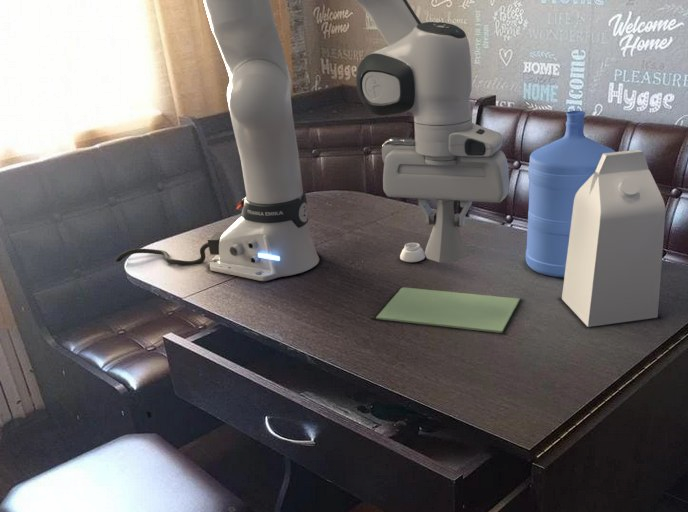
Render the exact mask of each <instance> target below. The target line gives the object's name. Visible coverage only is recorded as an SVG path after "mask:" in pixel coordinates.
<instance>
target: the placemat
mask: <svg viewBox="0 0 688 512" xmlns="http://www.w3.org/2000/svg"><path fill="white" fill-rule="evenodd" d="M520 301H521V299H520V298H519V297H507V296H498V295H489V294H488V295H487V294H477V293H467V292H455V291H446V290H445V291H444V290H436V289H435V290H434V289H426V288H425V289H424V288H415V287H414V288H413V287H405V286H404V287H403V286H402V287H401V288H400V289H399V290H398V292H396V293H395V294H394V296H393V297H392V298H391V299H390V301H388V303H387V304H386V305H385V306H384V308H383V309H382V310H381V311H380V312H379V313H378V314H377V316H376V317H375V319H376V320H381V321H391V322H400V323H409V324H418V325H424V326H425V325H426V326H436V327H443V328H452V329H453V328H454V329H462V330H471V331H480V332H487V333H488V332H489V333H498V334H503V332H504V331H505V328H506V326H507V325H508V324H509V321H510V320H511V317H512V315H513V313H514V312H515V310H516V308H517V306H518V304H519V303H520Z"/></svg>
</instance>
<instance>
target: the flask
mask: <svg viewBox="0 0 688 512" xmlns="http://www.w3.org/2000/svg"><path fill="white" fill-rule="evenodd" d="M434 200H435V202H436V212H437V213H436V219H435V225H432V229H431V231H430V232H431V233H430V236H429V239H428V241H427V244H426V246H425V250H424V253H425V258H426V259H428V260H430V261H432V262H433V261H434V262H436V263H448V262H449V263H450V262H457V261H460V260H462V259H465V258H467V257H469V256H470V255H469V253H468V250H467V247H466V245H465V243H464V240H463V237H462V234H461V232H460V227H455V226H454V223H455V222H454V216H455V215H456V214H455V210H454V204H455V203H454V202H456V200H437V199H434Z"/></svg>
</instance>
